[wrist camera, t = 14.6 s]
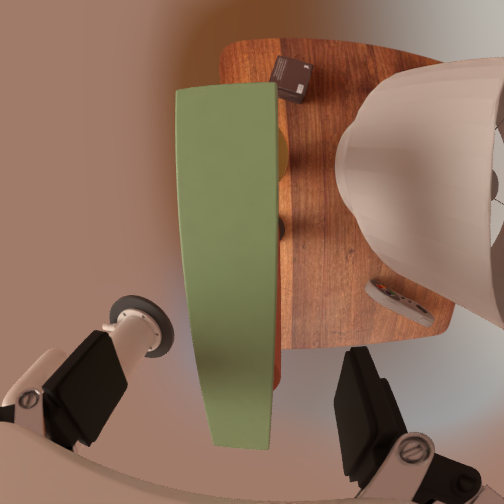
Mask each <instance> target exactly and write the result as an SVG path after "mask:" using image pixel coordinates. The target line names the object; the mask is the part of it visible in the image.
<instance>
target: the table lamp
mask: <svg viewBox="0 0 504 504" xmlns="http://www.w3.org/2000/svg"><path fill="white" fill-rule="evenodd" d="M495 123H496V125H497V127H496V128H495ZM497 128H498V130H499V132H500V134H501V137H502V139H503V143H504V57H494V58H480V59H470V60H463V61H454V62H448V63H441V64H436V65H430V66H425V67H420V68H415V69H411V70H407V71H403V72H400V73H396V74H394V75H393V76H391V77H389V78H387V79H386V80H384V81H382V82H381V83H380V84H379V85H378V86H377V87H376V88H375V89H374V90H373V91H372V92H371V93H370V94H369V95H368V97H367V98H366V100H365V101H364V103H363V104H362V106H361V108H360V109H359V111H358V114H357V116H356V119H355V120H354V121H353V122H352V124H351V125H350V126H349V127H348V128H347V129H346V131H345V132H344V133H343V135H342V137H341V139H340V142H339V144H338V147H337V152H336V157H335V175H336V182H337V186H338V189H339V193H340V195H341V197H342V199H343V201H344V203H345V205H346V206H347V208H348V209H349V210H350V212H351V213H352V214H353V215H354V216H355V217H356V220H357V222H358V225H359V227H360V229H361V232H362V234H363V236H364V237H365V239H366V240H367V242H368V244H369V245H370V247H371V249H372V250H373V251H374V252H375V254H376V255H377V256H378V257H379V258H380V259H381V260H382V262H383V263H384V264H386V265H387V266H388V267H389V268H391V269H392V270H393V271H394V272H396V273H397V274H399V275H401V276H403V277H405V278H407V279H409V280H411V281H413V282H415V283H417V284H419V285H421V286H423V287H425V288H427V289H429V290H431V291H433V292H435V293H437V294H439V295H441V296H443V297H445V298H447V299H449V300H451V301H453V302H454V303H456V304H458V305H460V306H462V307H464V308H466V309H468V310H469V311H471V312H473V313H475V314H477V315H479V316H481V317H482V318H484V319H486V320H488V321H490V322H491V323H493V324H495V325H497V326H498V327H500V328H502V329H503V330H504V222H503V225H502V228H501V231H500V233H499V235H498V237H497V238H496V240H495V242H494V244H493V246H492V247H491V244H490V243H491V239H490V216H491V201H492V200H493V199H494V198H495V197H496V195H497V192H498V178H497V175H496V173H495V172H494V171H493V169H492V160H493V159H492V158H493V148H494V136H495V130H496V129H497ZM495 200H496V199H495ZM502 204H503V203H502Z"/></svg>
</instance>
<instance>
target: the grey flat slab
mask: <svg viewBox="0 0 504 504" xmlns="http://www.w3.org/2000/svg"><path fill="white" fill-rule="evenodd" d="M364 289H365V291H366V293H367V294H368V295H369V296H370V297H371V298H372V299H374V300H375V301H376V302H378V303H379V304H381V305H382V306H384V307H386V308H388V309H390V310H392V311H394V312H396V313H398V314H400V315H402V316H404V317H406V318H408V319H410V320H413V321H415V322H417V323H419V324H421V325H423V326H425V327H430V326H431V325H432V324H433V322H434V321H435V318H434V316H433V315H432V314H431V313H430V312H429V311H428V310H427V309H426V308H424V307H423V306H422V305H420V304H419V303H417V302H416V301H414V300H411V299H408V298H406V297H404V296H403V295H401V294H399V293H397V292H395V291H393V290H391V289H390V288H388V287H387V286H385V285H384V284H382V283H380V282H378V281H376V280H373V279H369V281H368V282H367V284H366V285H365V287H364Z"/></svg>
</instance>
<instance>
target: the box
mask: <svg viewBox="0 0 504 504" xmlns="http://www.w3.org/2000/svg"><path fill="white" fill-rule="evenodd" d="M313 67H314V65H312V64H309V63H305V62H302V61H298V60H295V59H291V58H288V57H284V56H280V55H278V57H277V59H276V62H275V65H274V68H273V71H272V74H271V77H270V81H269V82H275V83H276V84H277V97H278V98H281V99H285V100H288V101H292V102H295V103H298V104H301V103H302V100H303V98H304V95H305V93H306V90H307V87H308V83H309V80H310V77H311V73H312V70H313Z"/></svg>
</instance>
